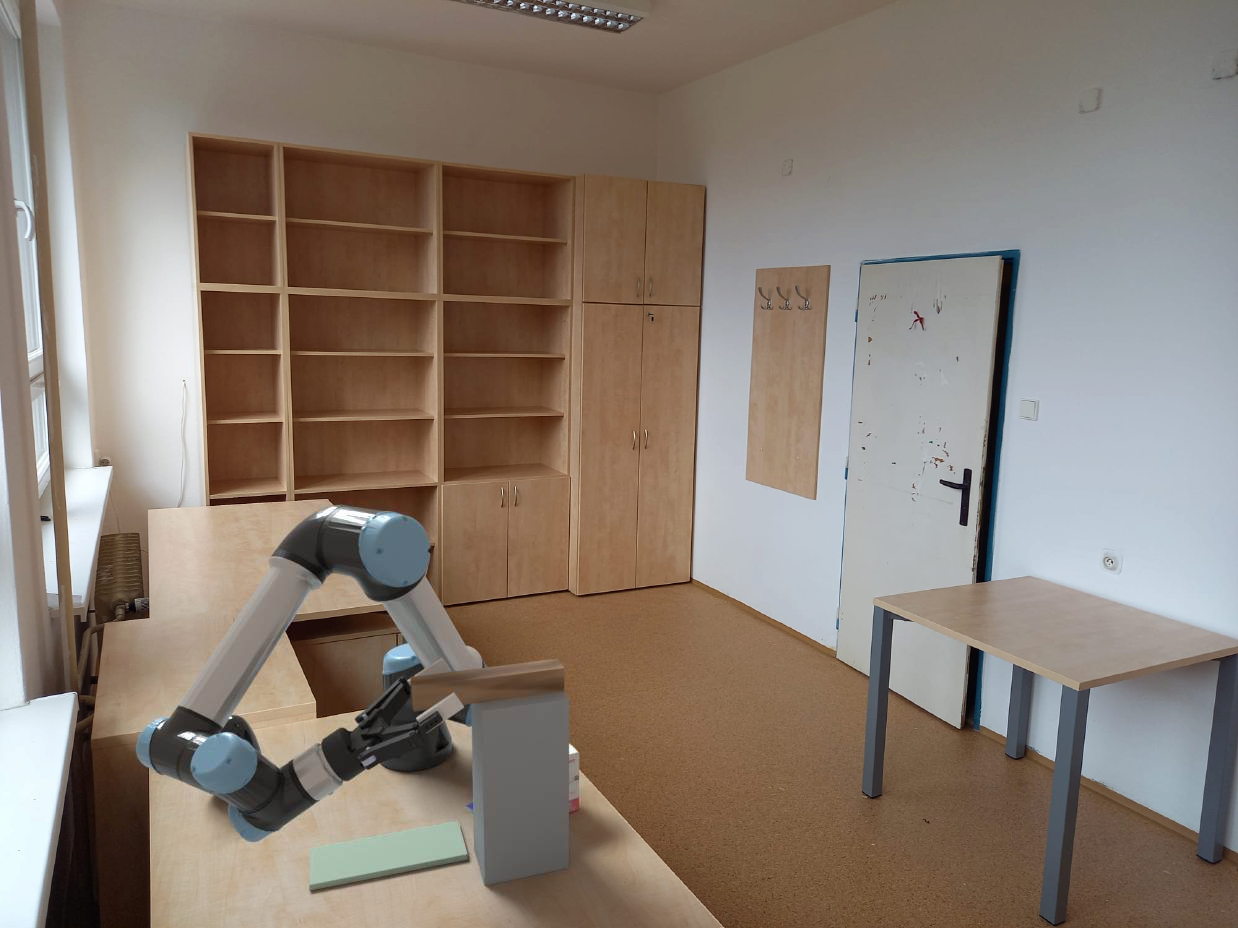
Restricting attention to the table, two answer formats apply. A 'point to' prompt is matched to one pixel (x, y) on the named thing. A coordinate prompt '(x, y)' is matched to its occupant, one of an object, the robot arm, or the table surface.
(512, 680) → the walnut bar
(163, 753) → the robot arm
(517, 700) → the stand
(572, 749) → the ink box
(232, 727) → the pump dispenser
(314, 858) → the mat
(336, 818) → the table surface
